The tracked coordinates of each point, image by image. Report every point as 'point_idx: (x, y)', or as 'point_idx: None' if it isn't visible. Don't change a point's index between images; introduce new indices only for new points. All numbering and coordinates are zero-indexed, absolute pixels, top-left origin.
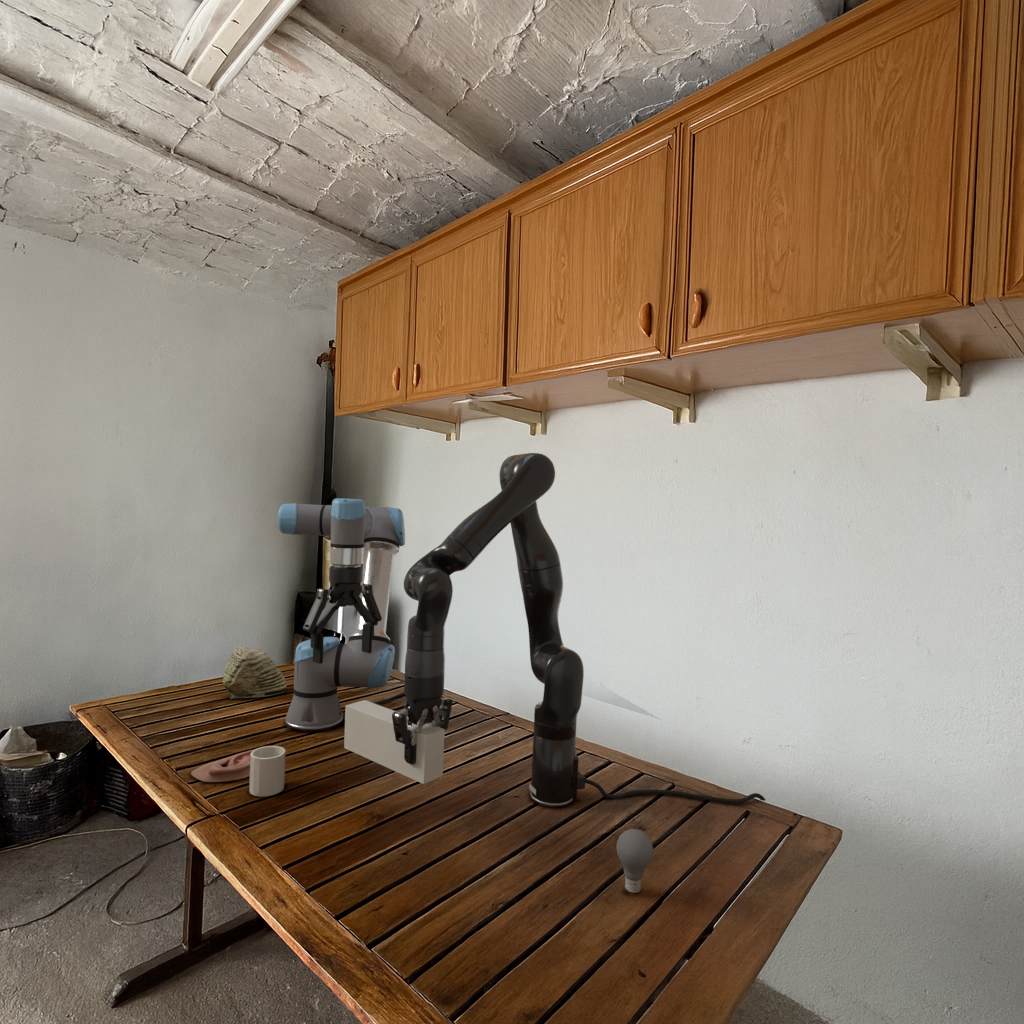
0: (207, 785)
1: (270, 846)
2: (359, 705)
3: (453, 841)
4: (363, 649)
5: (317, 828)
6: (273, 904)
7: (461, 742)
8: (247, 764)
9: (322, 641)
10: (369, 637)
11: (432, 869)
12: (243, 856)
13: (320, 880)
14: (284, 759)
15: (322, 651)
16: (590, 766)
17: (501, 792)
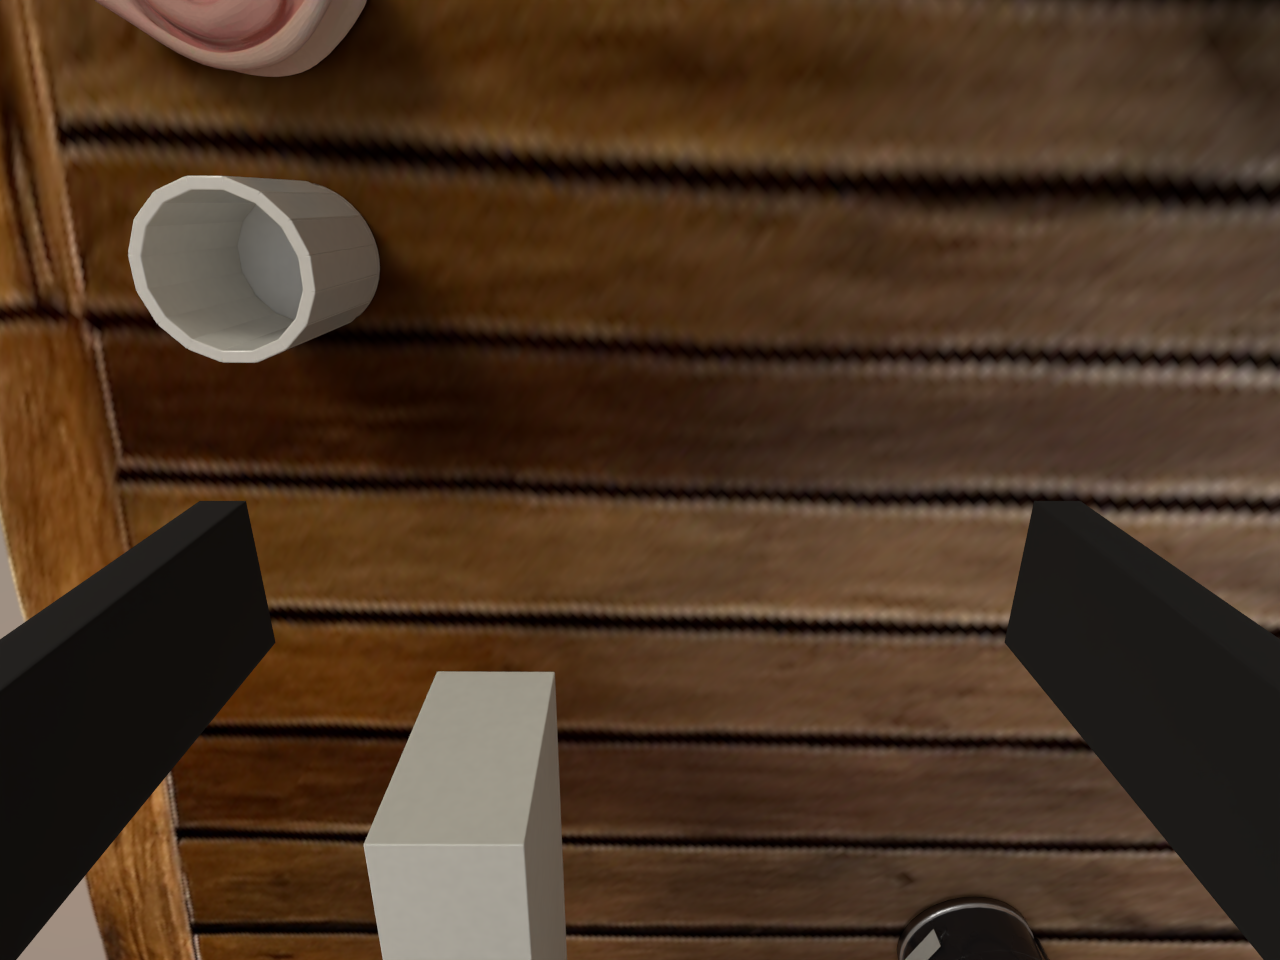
0: (94, 7)
1: None
2: (431, 895)
3: (582, 907)
4: (1041, 554)
5: (330, 635)
6: None
7: (1227, 482)
8: (243, 65)
9: (56, 882)
10: (1143, 809)
11: None
12: None
13: (221, 822)
14: (309, 334)
15: (178, 747)
16: None
17: (901, 839)
